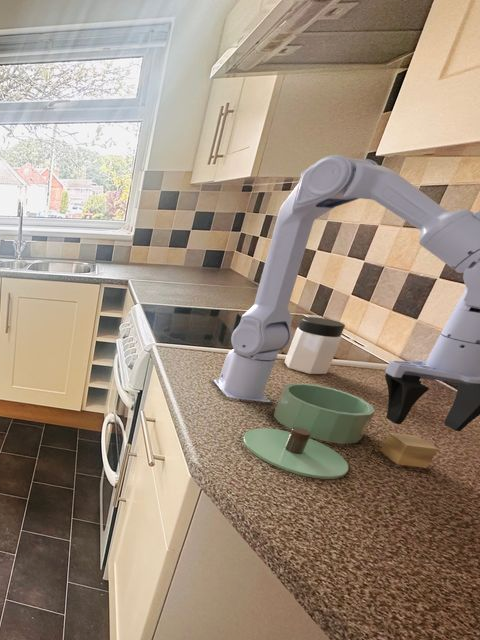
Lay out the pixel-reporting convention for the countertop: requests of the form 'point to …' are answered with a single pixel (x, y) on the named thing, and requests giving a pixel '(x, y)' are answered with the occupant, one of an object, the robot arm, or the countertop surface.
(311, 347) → the jar
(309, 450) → the lid
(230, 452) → the countertop surface
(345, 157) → the robot arm
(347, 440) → the tin
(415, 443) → the block
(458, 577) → the countertop surface
